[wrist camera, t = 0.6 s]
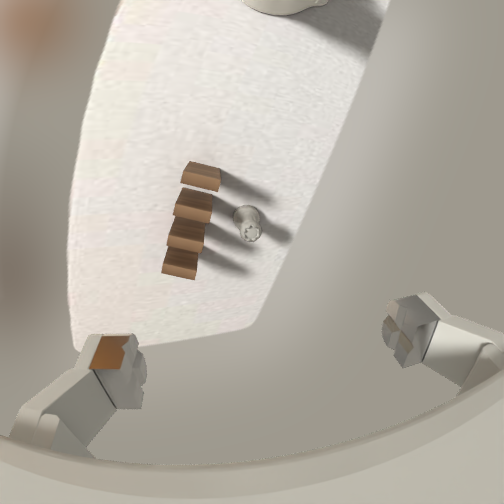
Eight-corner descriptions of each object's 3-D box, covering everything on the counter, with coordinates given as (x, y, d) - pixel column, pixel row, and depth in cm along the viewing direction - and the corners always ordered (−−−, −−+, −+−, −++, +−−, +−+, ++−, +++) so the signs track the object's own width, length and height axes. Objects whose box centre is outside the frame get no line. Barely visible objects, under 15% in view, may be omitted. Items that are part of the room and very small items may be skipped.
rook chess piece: (263, 212, 50) (272, 229, 43) (249, 233, 51) (255, 253, 44) (242, 199, 48) (247, 213, 41) (227, 220, 50) (230, 238, 42)
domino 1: (189, 161, 44) (183, 171, 35) (219, 168, 46) (221, 180, 37) (187, 170, 45) (180, 182, 36) (216, 177, 46) (217, 191, 37)
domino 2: (182, 187, 46) (175, 203, 37) (212, 194, 47) (211, 212, 38) (180, 196, 47) (172, 215, 38) (209, 203, 48) (208, 223, 39)
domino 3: (176, 212, 48) (168, 235, 39) (205, 219, 49) (203, 243, 40) (174, 221, 48) (166, 245, 39) (203, 228, 50) (201, 253, 41)
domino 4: (171, 236, 49) (163, 263, 41) (199, 243, 51) (196, 270, 42) (169, 245, 50) (161, 272, 41) (197, 251, 51) (194, 280, 42)
